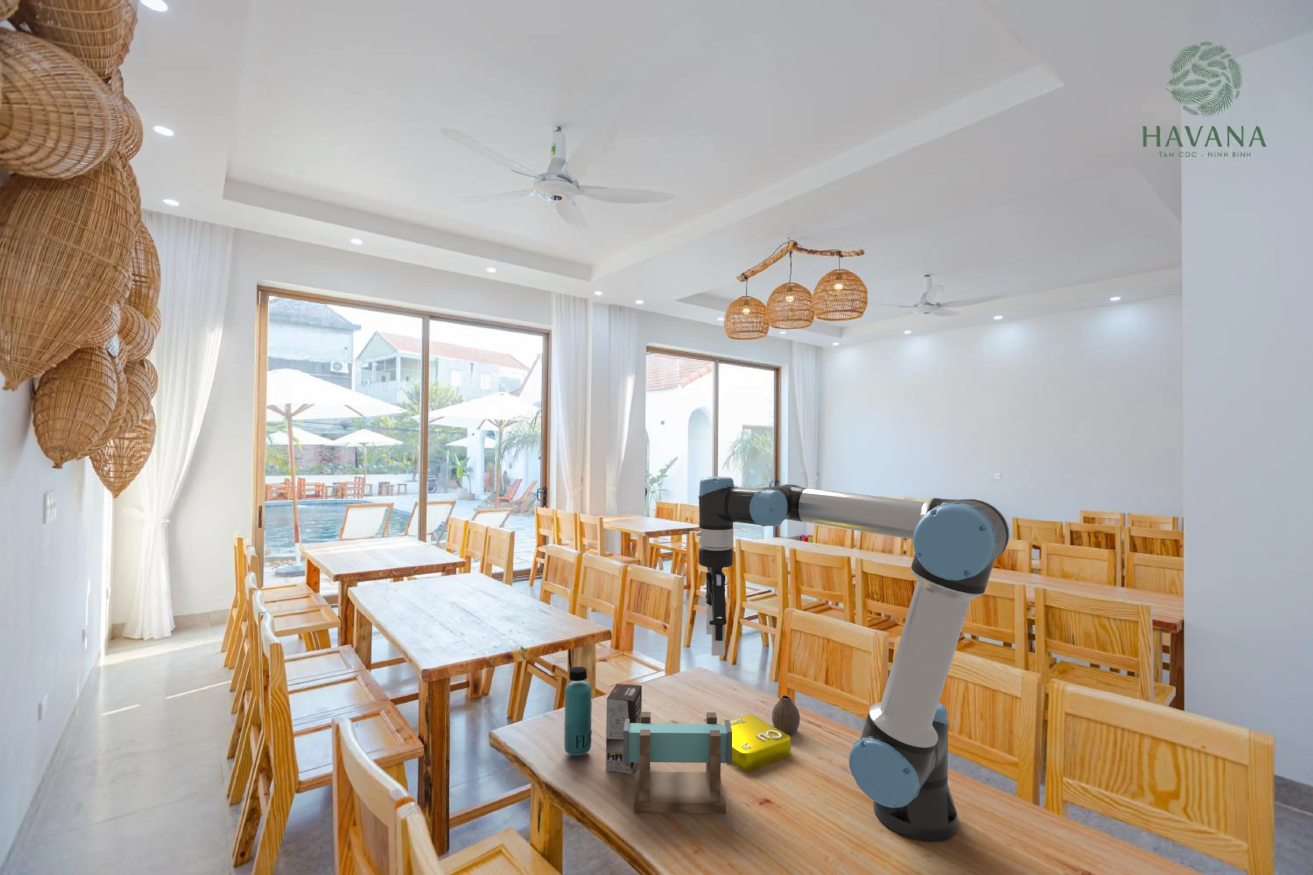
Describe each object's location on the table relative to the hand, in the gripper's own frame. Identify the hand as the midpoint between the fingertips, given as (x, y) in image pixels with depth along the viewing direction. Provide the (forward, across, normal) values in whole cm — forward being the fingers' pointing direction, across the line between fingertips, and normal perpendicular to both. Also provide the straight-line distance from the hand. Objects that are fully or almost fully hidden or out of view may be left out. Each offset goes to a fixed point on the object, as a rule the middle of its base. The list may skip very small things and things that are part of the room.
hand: (715, 644), depth 132 cm
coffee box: (+29, -5, -20) cm, 35 cm away
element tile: (+29, -11, +9) cm, 33 cm away
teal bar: (+21, +8, -8) cm, 24 cm away
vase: (+29, -20, +20) cm, 41 cm away
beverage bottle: (+29, -8, -31) cm, 43 cm away
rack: (+29, +8, -8) cm, 31 cm away
